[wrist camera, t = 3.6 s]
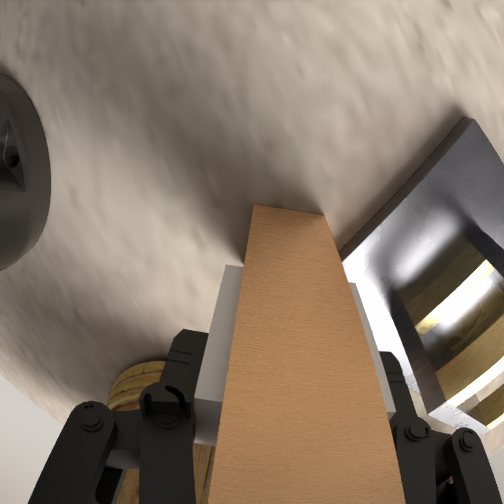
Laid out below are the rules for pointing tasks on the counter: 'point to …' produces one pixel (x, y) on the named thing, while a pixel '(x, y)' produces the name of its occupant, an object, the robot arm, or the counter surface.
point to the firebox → (441, 278)
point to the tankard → (127, 399)
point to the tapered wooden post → (300, 379)
